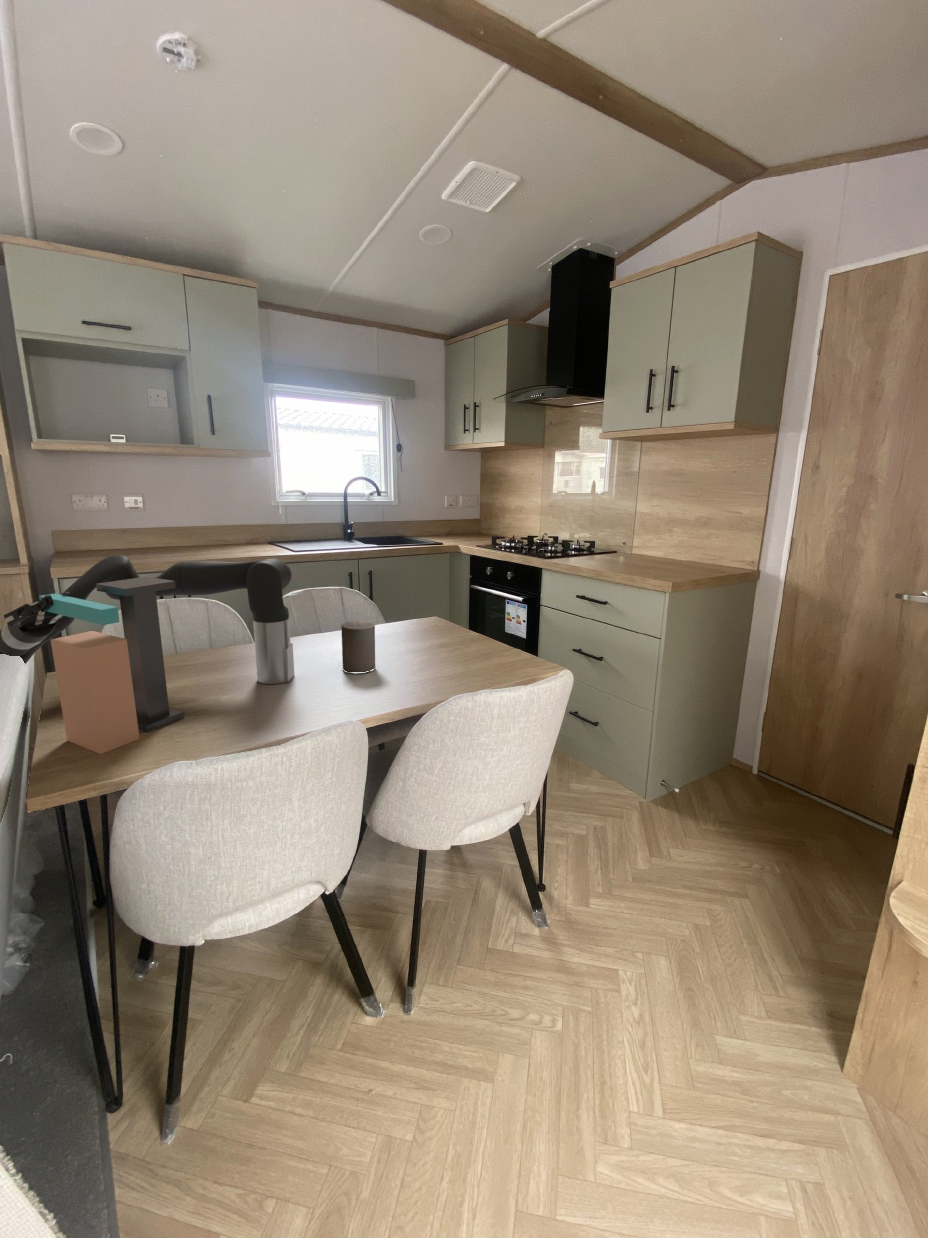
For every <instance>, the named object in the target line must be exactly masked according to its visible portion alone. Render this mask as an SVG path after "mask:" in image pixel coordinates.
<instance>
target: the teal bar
mask: <svg viewBox="0 0 928 1238" xmlns="http://www.w3.org/2000/svg"><path fill="white" fill-rule="evenodd" d="M45 595H46V594H44V595H43V594H42V595H38V598H39V601H40V600H41V599H42V598H43V597H44V596H45ZM48 595H51V597H52V600H53V603H54V604H53V606H51V607H50V608H49V609H48V610H47V612H51V613H55V614H59V615H63V616H68V617H72V618H75V619H76V620H81V621H83V622H89V623H93V624H97V625H101V626H106V625H111V624H117V623H120V617H119V615H120V614H119V607H118V606H116V605H115V606H114V605H110V604H104V603H100V602H96V601H91V600H87V599H86V600H83V599H78V598H73V597H69V596H63V595H61V594H59V593H58V594H57V593H49V594H48Z"/></svg>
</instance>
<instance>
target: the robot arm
mask: <svg viewBox="0 0 928 1238" xmlns="http://www.w3.org/2000/svg"><path fill="white" fill-rule="evenodd" d="M292 575H293V574H292V570H291V568H290V567H289V565H288V564H287V563H285V562H284V561H283V560H281V559H277V558H272V557H271V558H266V559H258V560H252V561H241V562H239V561H238V562H233V561H221V560H220V561H217V560H216V561H215V560H212V561H211V560H190V561H189V560H185V561H180V562H176V563H174V564H173V565H171V566H169V567H168V568H167V569H166V570H165V571H163V572H162V573H160V574H159V575H158V576H152V578H158V579H165V580H171V581H175V587H176V588H172V589H166V590H160V591H156V597H164V596H165V597H166V596H167V597H168V596H206V595H215V594H220V593H225V592H230V591H235V590H244V589H246V591H247V601H248V607H249V610H250V612H251V615H252V618H253V619H252V622H253V624H252V625H253V637H254V639H253V640H254V650H255V651H254V652H255V665H256V676H257V681H258V683H260V684H264V685H276V684H283V683H290V682H291V680H292V679H293V677H294V676H295V662H294V660H295V659H294V646H293V645H294V644H293V642H291V631H290V629H291V627H290V612H289V608H288V606H285V604H284V597H283V590H284V589H285V588H287V586H289V584H290V582H291V580H292ZM140 577H141V576H139V574H138V572H137V570H136V568H135V567H134V565H133V564H132V562H131V560H130V559H129V558H128V557H127V556H126V555H122V554H114V555H113V554H112V555H109V556H106V557H104V558H103V559H101V560H99V561H98V562H97V563H96V564H94V565H92V566H91V567H90V568H89V569H88V570H87V571H86V572H84V573H83V574H82V575H81V576H80V577H79V578H77V580H75V581H74V582H73V583H72V584H71V585H70V586H68V587H67V588H66V589H65V590H64V591H63V592H62V593H61V594H60V595H63V596H69V597H73V598H78V599H83V600H87V598H88V597H89V596H90V595H91V593H93V591H94V590H95V589H97V588H96V584H98V583H105V582H112V581H119V580H126V579H133V578H140ZM104 593H105V594H106V596H108V597H109V598H110V599H111V600H116V601H120V599H119V595H116V594H111V593H106V592H104ZM44 595H45V596H44V597H43V598H42V599H41V600H40V599H39V601H35V602H33V603H32V604H30V603H24V604H23V605H21V606H19V607H17V608H15V609H13V610H11V611H9V612H8V613H5V614H3V618H4V621H5V623H4V626H3V627H2V628H0V654H6V655H9V656H20V657H21V658H22V659H23V661H24V663H25V665H26V664H27V663H28V662H29V661H30V659H31V658H32V656H33V655H34V654H35V653H37V651H38V650H39V649H40V648H41V647H43V646H44V645H45V644H46V643H48V641H49V640H50V641H51V639H54V637H56V636H57V635H58V634H60V633H61V632H63V631H65V630H66V629H67V628H69V626H71V624H72V623H73V622H74V621H75V619H76V618H72V617H68V616H63V615H59V614H55V613H51V612H47V610H48V609H49V608H50V607H51V606H53V604H54V603H53V600H52V597H51V595H49V594H44Z"/></svg>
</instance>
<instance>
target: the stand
mask: <svg viewBox="0 0 928 1238" xmlns="http://www.w3.org/2000/svg"><path fill="white" fill-rule="evenodd" d="M139 577H140V578H133V579H126V580H119V581H112V582H105V583H98V584H96V588H95V589H96V592H100V593H105V592H106V593H111V594H116V595H119V599H120V600H119V605H120V614H121V620H122V628H123V635H124V639H127V646H128V653H129V661H130V669H131V677H132V684H133V692H134V700H135V707H136V715H137V723H138V731H139V732H140V731H141V732H144V733H146V734H147V733H150V732H151V731H154V730H156V729H157V730H158V729H159V728H162V727H164V726H167V725H171V723H174V722H177V721H179V720H182V719H184V717H185V716H184V711H182V710H178V709H175V708H172V707H170V705H169V704H170V703H169V695H168V686H167V678H166V671H165V670H166V669H165V661H164V652H163V645H162V635H161V634H162V633H161V627H160V626H161V625H160V617H159V607H158V599H157V596H156V591H160V590H166V589H172V588H176V587H175V581H171V580H165V579H158V578H152V577H153V576H152V577H151V576H139ZM106 593H105V594H106Z"/></svg>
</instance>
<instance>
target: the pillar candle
mask: <svg viewBox="0 0 928 1238" xmlns="http://www.w3.org/2000/svg"><path fill="white" fill-rule="evenodd" d="M375 626H376V624H375V622H372V621H369V620H367V621H366V620H358V619H357V620H350V621H345V622H343V623H341V657H342V660H341V661H342V668H343V669H344V670H345V671H347V672H366V671H370V670H372V669H374V668H375V669H376V632H375V631H376V627H375Z"/></svg>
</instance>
